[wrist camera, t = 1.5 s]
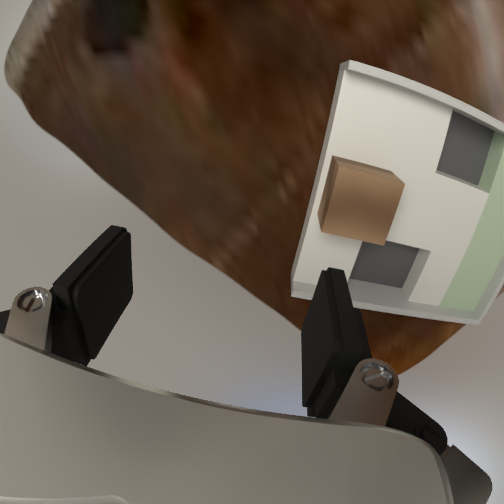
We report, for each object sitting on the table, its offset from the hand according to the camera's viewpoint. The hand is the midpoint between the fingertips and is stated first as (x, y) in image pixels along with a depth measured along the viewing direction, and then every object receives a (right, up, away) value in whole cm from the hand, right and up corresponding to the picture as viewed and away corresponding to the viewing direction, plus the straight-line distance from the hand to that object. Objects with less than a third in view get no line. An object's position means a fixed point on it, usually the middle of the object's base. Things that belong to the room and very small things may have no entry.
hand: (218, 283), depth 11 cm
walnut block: (+9, +6, +13) cm, 17 cm away
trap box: (+17, +6, +15) cm, 24 cm away
